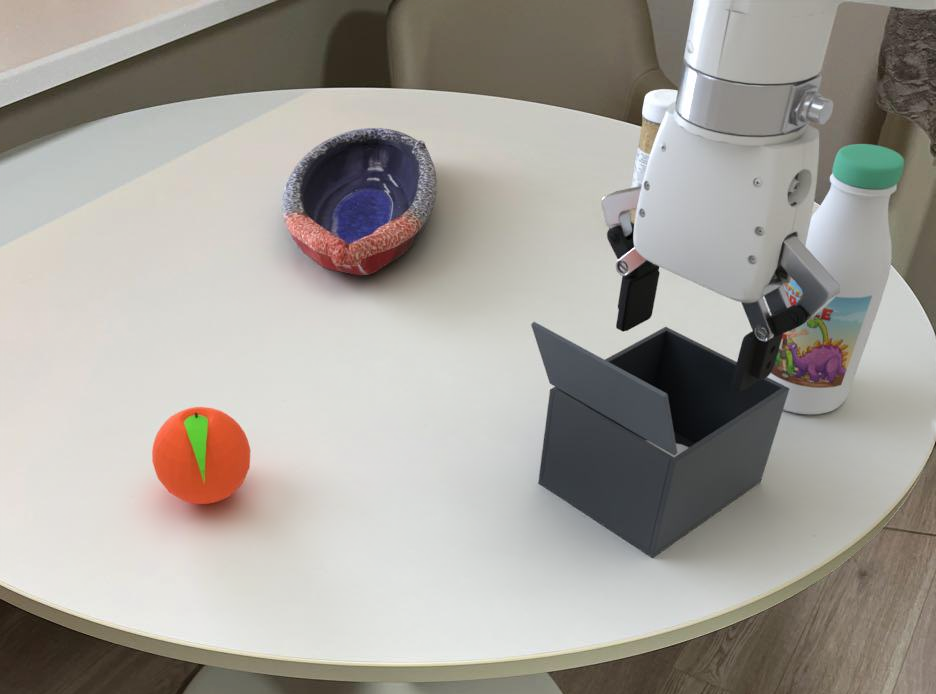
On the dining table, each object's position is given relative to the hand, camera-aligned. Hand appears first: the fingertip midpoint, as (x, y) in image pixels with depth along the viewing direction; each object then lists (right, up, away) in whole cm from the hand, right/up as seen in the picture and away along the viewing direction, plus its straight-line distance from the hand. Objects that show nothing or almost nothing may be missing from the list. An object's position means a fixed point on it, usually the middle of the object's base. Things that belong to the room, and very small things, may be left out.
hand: (689, 351), depth 72 cm
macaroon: (0, -8, +7) cm, 11 cm away
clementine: (-34, -10, +5) cm, 36 cm away
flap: (-7, -3, -5) cm, 9 cm away
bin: (-1, -9, +7) cm, 11 cm away
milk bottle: (+13, -1, +16) cm, 21 cm away
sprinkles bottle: (+6, +20, +38) cm, 43 cm away
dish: (-24, +20, +38) cm, 49 cm away
